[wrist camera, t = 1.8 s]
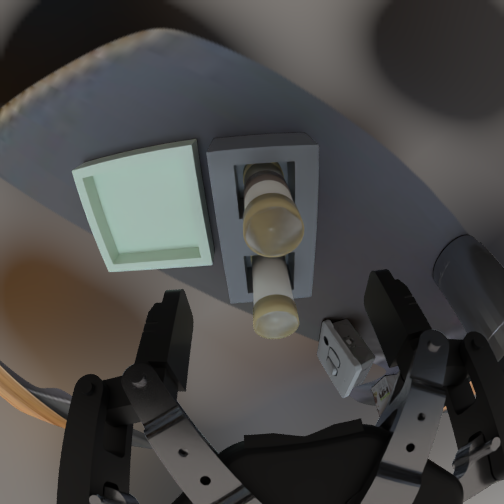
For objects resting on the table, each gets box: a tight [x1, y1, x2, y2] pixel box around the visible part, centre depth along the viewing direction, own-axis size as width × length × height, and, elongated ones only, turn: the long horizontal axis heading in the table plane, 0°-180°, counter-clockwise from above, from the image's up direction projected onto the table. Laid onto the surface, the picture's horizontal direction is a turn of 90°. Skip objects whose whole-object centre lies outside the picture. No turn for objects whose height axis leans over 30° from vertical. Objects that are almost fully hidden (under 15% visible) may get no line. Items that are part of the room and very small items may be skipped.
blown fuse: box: [243, 162, 304, 257], centre depth 19 cm, size 3×3×10 cm
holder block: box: [206, 133, 319, 303], centre depth 24 cm, size 8×15×5 cm, turn 4°
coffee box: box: [372, 375, 397, 418], centre depth 45 cm, size 9×6×16 cm
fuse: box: [251, 255, 299, 339], centre depth 24 cm, size 3×3×10 cm
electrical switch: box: [317, 319, 375, 398], centre depth 35 cm, size 9×5×9 cm, turn 5°
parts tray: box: [72, 139, 215, 272], centre depth 25 cm, size 12×12×2 cm
